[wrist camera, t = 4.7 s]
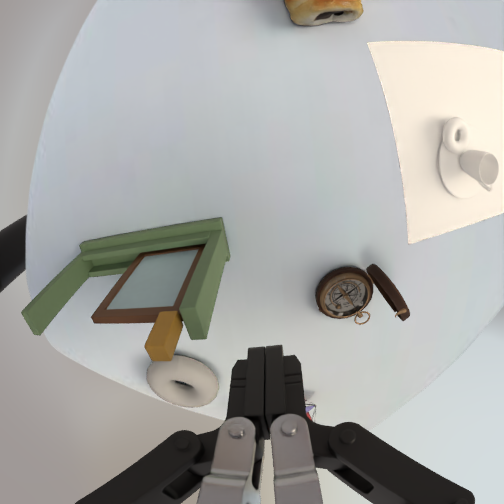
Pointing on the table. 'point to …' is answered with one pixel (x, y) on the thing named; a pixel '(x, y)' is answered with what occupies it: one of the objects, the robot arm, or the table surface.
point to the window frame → (121, 257)
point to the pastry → (323, 11)
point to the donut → (185, 371)
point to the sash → (153, 296)
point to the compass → (357, 292)
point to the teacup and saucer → (445, 130)
